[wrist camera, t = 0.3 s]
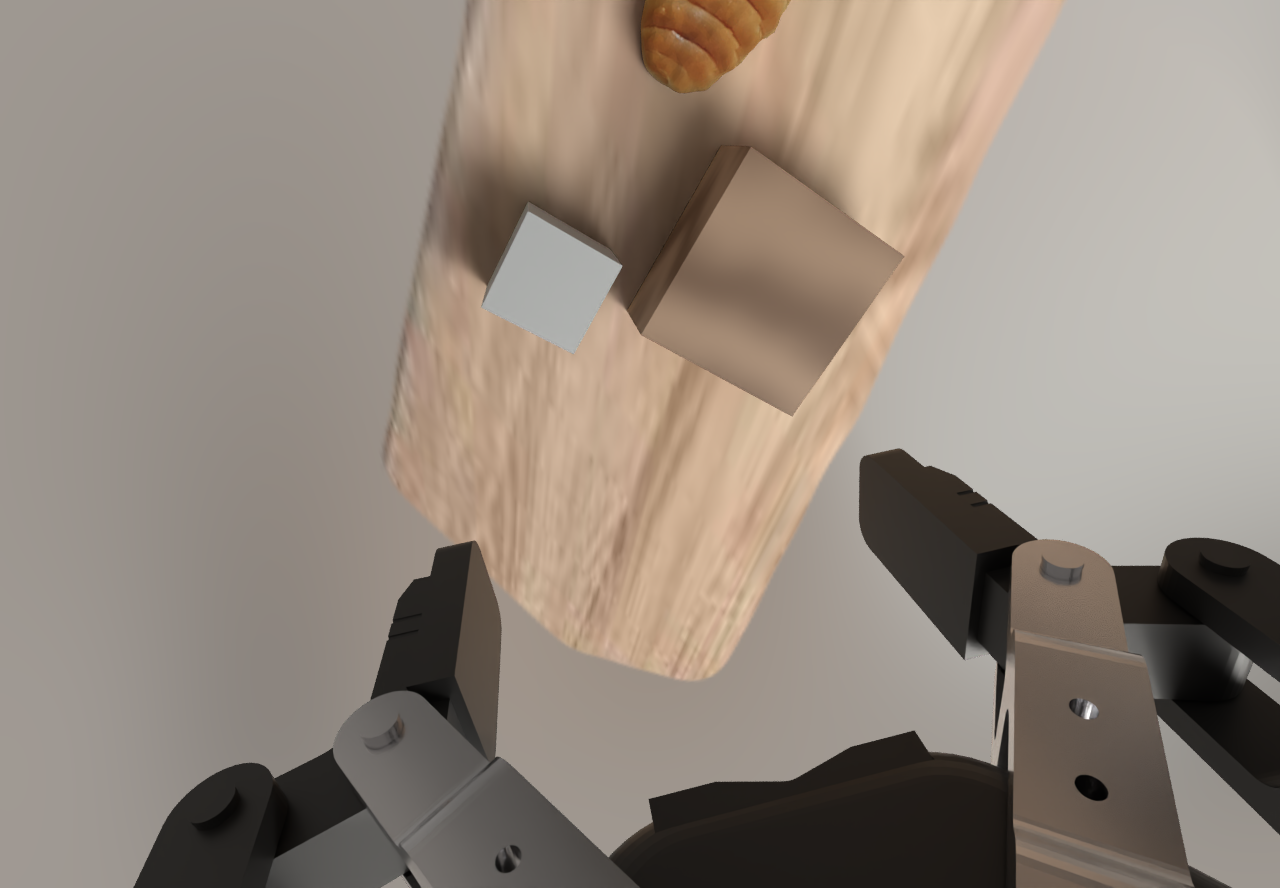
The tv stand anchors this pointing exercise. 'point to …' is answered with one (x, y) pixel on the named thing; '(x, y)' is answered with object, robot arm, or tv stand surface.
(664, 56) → the pastry
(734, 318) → the tan square block
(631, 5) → the tv stand surface
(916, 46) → the tv stand surface
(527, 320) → the grey cube
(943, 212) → the tv stand surface
